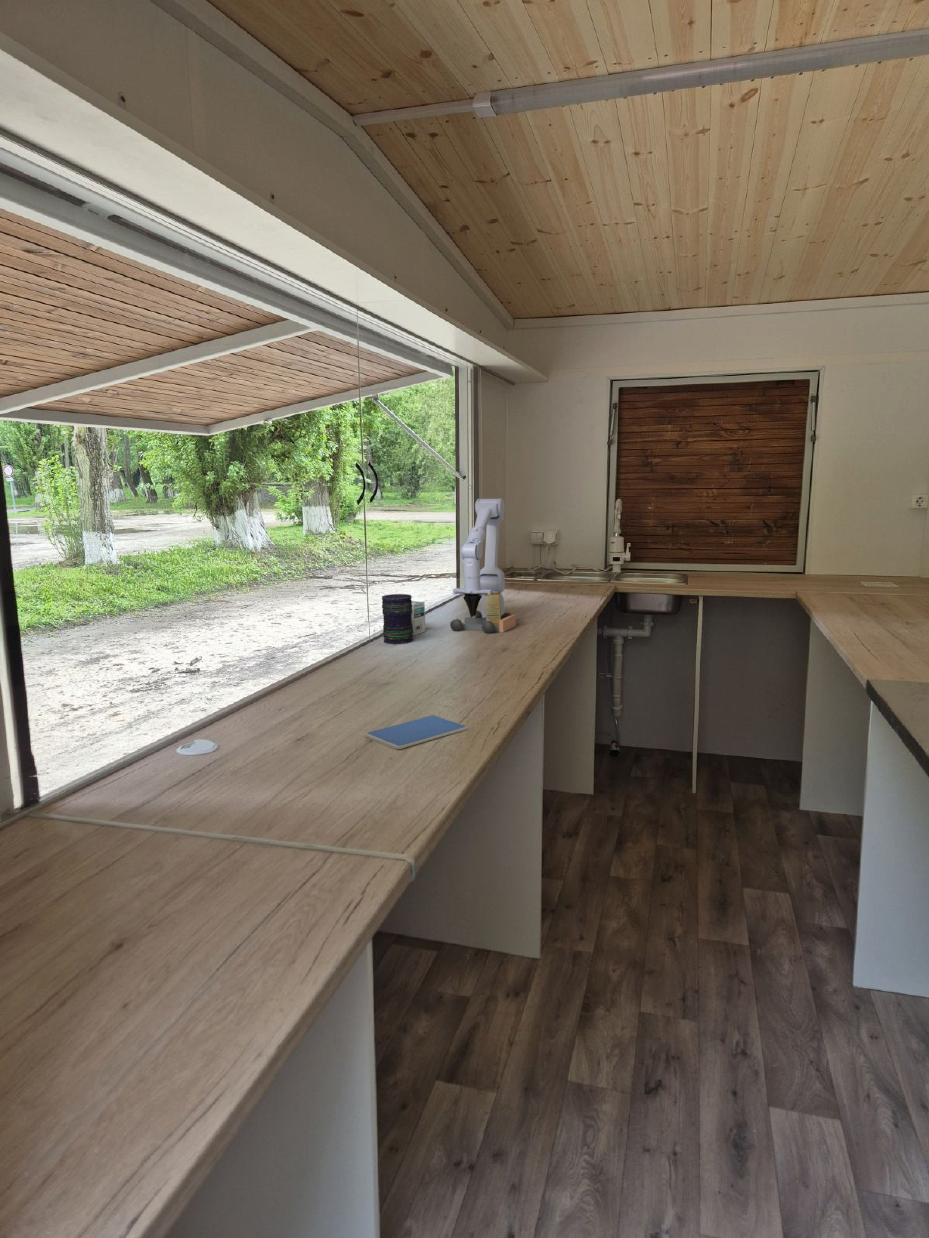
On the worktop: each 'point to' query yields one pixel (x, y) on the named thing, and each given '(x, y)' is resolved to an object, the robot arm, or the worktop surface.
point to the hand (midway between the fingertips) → (473, 615)
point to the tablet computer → (415, 732)
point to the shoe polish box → (493, 608)
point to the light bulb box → (418, 617)
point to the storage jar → (397, 619)
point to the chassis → (484, 623)
